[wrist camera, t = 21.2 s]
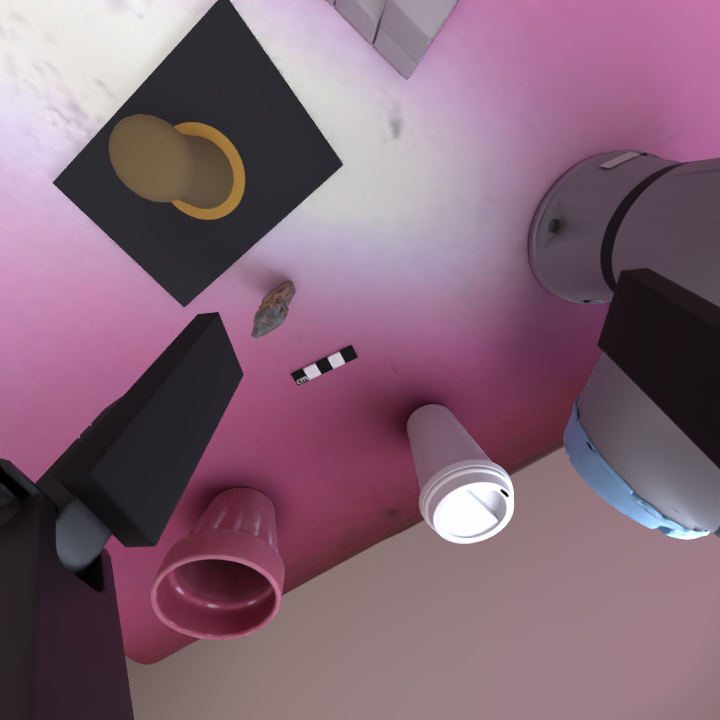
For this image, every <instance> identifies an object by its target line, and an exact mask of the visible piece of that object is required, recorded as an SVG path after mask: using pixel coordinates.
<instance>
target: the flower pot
mask: <svg viewBox="0 0 720 720" xmlns="http://www.w3.org/2000/svg"><path fill="white" fill-rule="evenodd" d="M284 575H285V569H284V563H283V560H282V558H281V556H280V555H279V553H278V546H277V532H276V520H275V509H274V505H273V503H272V502H271V500H270V499H269V498H268V497H267V496H266V495H265V494H263V493H262V492H260V491H257V490H255V489H251V488H245V487H239V488H232V489H228V490H225V491H223V492H222V493H220V494H219V495H217V496H216V497H215V498H214V499H213V501H212V502H211V504H210V505H209V506H208V508H207V509H206V510H205V512H204V513H203V514H202V516H201V517H200V518H199V520H198V521H197V523H196V524H195V525H194V527H193V528H192V529H191V531H190V532H189V534H188V535H187V536H186V537H184V538H183V539H181V540H180V541H178V542H177V543H176V544H175V545H174V546H173V547H172V548H171V549H170V551H169V552H168V553H167V555H166V557H165V559H164V561H163V563H162V565H161V567H160V569H159V571H158V573H157V576H156V578H155V580H154V583H153V586H152V589H151V595H150V598H151V605H152V607H153V610H154V612H155V613H156V615H157V616H158V617H159V619H160V620H161V621H162V622H164V623H165V624H166V625H167V626H169V627H171V628H172V629H174V630H176V631H178V632H180V633H183V634H186V635H189V636H192V637H197V638H202V639H211V640H224V639H233V638H239V637H243V636H246V635H249V634H251V633H254V632H256V631H258V630H259V629H261V628H263V627H264V626H265V625H267V624H268V623H269V622H270V621H271V620H272V619H273V618H274V616H275V615H276V613H277V611H278V609H279V606H280V602H281V597H282V591H283V584H284Z"/></svg>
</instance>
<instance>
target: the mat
mask: <svg viewBox="0 0 720 720" xmlns="http://www.w3.org/2000/svg"><path fill="white" fill-rule="evenodd" d="M136 114H143V115H153V116H155V117H157V118H160V119H162V120H164V121H166V122H168V123H170V124H171V125H172V126H173V127H175V128H176V129H177V130H178V131H179V132H181V133H182V134H186V135H193V136H200V137H204V138H206V139H208V140H210V141H213V142H214V143H215V144H216V145H217V146H219V147H220V148H221V149H222V150H223V152H224V153H225V154H226V156H227V157H228V159H229V161H230V164H231V167H232V169H233V177H234V184H233V188H232V192H231V194H230V195H229V197H228V199H227V200H226V201H225V202H224V203H223V204H221V205H220V206H218V207H215V208H211V209H200V208H196V207H194V206H191V205H189V204H186V203H184V202H182V201H179V200H175V201H172V202H154V201H151V200H148V199H146V198H143V197H141V196H139V195H137V194H136V193H135V192H133V191H132V190H131V189H129V188H128V187H127V186H126V185H125V184H124V183H123V182H122V180H121V179H120V178H119V177H118V176H117V174H116V172H115V170H114V167H113V165H112V163H111V159H110V154H109V141H110V135H111V133H112V131H113V129H114V127H115V125H116V124H118V123H119V122H120V121H121V120H122V119H124V118H126V117H129V116H133V115H136ZM341 166H343V163H342V162H341V161H340V159H339V158H338V156H337V155H336V153H335V152H334V150H333V149H332V148H331V146H330V145H329V143H328V142H327V140H326V139H325V137H324V136H323V135H322V133H321V132H320V130H319V129H318V127H317V126H316V125H315V123H314V122H313V120H312V119H311V117H310V116H309V114H308V113H307V112H306V110H305V109H304V107H303V106H302V104H301V103H300V102H299V100H298V99H297V97H296V96H295V94H294V93H293V91H292V90H291V89H290V87H289V86H288V84H287V83H286V81H285V80H284V78H283V77H282V76H281V74H280V73H279V71H278V70H277V68H276V67H275V66H274V64H273V63H272V61H271V60H270V58H269V57H268V55H267V54H266V53H265V51H264V50H263V48H262V47H261V45H260V44H259V42H258V41H257V40H256V38H255V37H254V35H253V34H252V32H251V31H250V30H249V28H248V27H247V25H246V24H245V22H244V21H243V19H242V18H241V17H240V15H239V14H238V12H237V11H236V9H235V8H234V6H233V5H232V4H231V2H230V1H229V0H218V1H217V2H216V3H215V4H214V5H213V6H212V7H211V9H210V10H209V11H208V12H207V13H206V14H205V15H204V16H203V17H202V18H201V20H200V21H199V22H198V23H197V24H196V25H195V26H194V27H193V28H192V29H191V31H190V32H189V33H188V34H187V35H186V36H185V37H184V38H183V39H182V41H181V42H180V43H179V44H178V45H177V46H176V47H175V48H174V49H173V50H172V52H171V53H170V54H169V55H168V56H167V57H166V58H165V59H164V60H163V62H162V63H161V64H160V65H159V66H158V67H157V68H156V69H155V70H154V71H153V73H152V74H151V75H150V76H149V77H148V78H147V79H146V80H145V81H144V82H143V84H142V85H141V86H140V87H139V88H138V89H137V90H136V91H135V92H134V94H133V95H132V96H131V97H130V98H129V99H128V100H127V101H126V102H125V103H124V105H123V106H122V107H121V108H120V109H119V110H118V111H117V112H116V113H115V115H114V116H113V117H112V118H111V119H110V120H109V121H108V122H107V123H106V124H105V126H104V127H103V128H102V129H101V130H100V131H99V132H98V133H97V134H96V135H95V137H94V138H93V139H92V140H91V141H90V142H89V143H88V144H87V145H86V147H85V148H84V149H83V150H82V151H81V152H80V153H79V154H78V155H77V156H76V158H75V159H74V160H73V161H72V162H71V163H70V164H69V165H68V166H67V168H66V169H65V170H64V171H63V172H62V173H61V174H60V175H59V176H58V177H57V179H56V180H55V181H54V182H53V184H54V185H55V186H56V187H57V188H59V189H60V190H61V191H62V192H63V193H64V194H65V195H66V196H67V197H68V198H69V199H70V200H71V201H72V202H73V203H74V204H75V205H77V206H78V207H79V208H80V209H81V210H82V211H83V212H84V213H85V214H86V215H87V216H88V217H89V218H90V219H91V220H92V221H93V222H94V223H96V224H97V225H98V226H99V227H100V228H101V229H102V230H103V231H104V232H105V233H106V234H107V235H108V236H109V237H110V238H111V239H112V240H114V241H115V242H116V243H117V244H118V245H119V246H120V247H121V248H122V249H123V250H124V251H125V252H126V253H127V254H128V255H129V256H130V257H131V258H133V259H134V260H135V261H136V262H137V263H138V264H139V265H140V266H141V267H142V268H143V269H144V270H145V271H146V272H147V273H148V274H149V275H151V276H152V277H153V278H154V279H155V280H156V281H157V282H158V283H159V284H160V285H161V286H162V287H163V288H164V289H165V290H166V291H167V292H168V293H170V294H171V295H172V296H173V297H174V298H175V299H176V300H177V301H178V302H179V303H180V304H181V305H182V306H183V307H185V306H186V305H187V304H189V303H190V302H191V301H192V300H193V299H194V298H195V297H196V296H197V295H199V294H200V293H201V292H202V291H203V290H204V289H205V288H206V287H208V286H209V285H210V284H211V283H212V282H213V281H214V280H215V279H216V278H218V277H219V276H220V275H221V274H222V273H223V272H224V271H225V270H226V269H228V268H229V267H230V266H231V265H232V264H233V263H234V262H235V261H237V260H238V259H239V258H240V257H241V256H242V255H243V254H244V253H245V252H247V251H248V250H249V249H250V248H251V247H252V246H253V245H254V244H255V243H257V242H258V241H259V240H260V239H261V238H262V237H263V236H264V235H266V234H267V233H268V232H269V231H270V230H271V229H272V228H273V227H274V226H276V225H277V224H278V223H279V222H280V221H281V220H282V219H283V218H285V217H286V216H287V215H288V214H289V213H290V212H291V211H292V210H293V209H295V208H296V207H297V206H298V205H299V204H300V203H301V202H302V201H303V200H305V199H306V198H307V197H308V196H309V195H310V194H311V193H312V192H314V191H315V190H316V189H317V188H318V187H319V186H320V185H321V184H322V183H324V182H325V181H326V180H327V179H328V178H329V177H330V176H331V175H332V174H334V173H335V172H336V171H337V170H338V169H339V168H340V167H341Z"/></svg>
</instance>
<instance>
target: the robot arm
mask: <svg viewBox="0 0 720 720" xmlns="http://www.w3.org/2000/svg"><path fill="white" fill-rule="evenodd" d="M528 249H529V260H530V264H531V268H532V271H533V273H534V275H535V277H536V279H537V280H538V282H539V283H540V284H541V286H542V287H543V288H544V289H546V290H547V291H548V292H549V293H551V294H553V295H554V296H557V297H559V298H562V299H564V300H567V301H570V302H574V303H580V304H599V303H605V302H608V303H611V304H610V307H609V310H608V313H607V316H606V320H605V323H604V326H603V329H602V332H601V335H600V339H599V342H598V346H599V347H600V348H601V349H602V350H603V351H602V353H601V355H600V357H599V359H598V361H597V363H596V365H595V367H594V369H593V371H592V373H591V375H590V377H589V379H588V381H587V383H586V385H585V387H584V389H583V391H582V393H581V395H578V396H577V398H576V399H575V402H574V404H573V412H572V414H571V417H570V419H569V421H568V424H567V426H566V429H565V431H564V437H563V441H564V447H565V450H566V452H567V454H568V456H569V459H570V462H571V463H572V465H573V466H574V468H575V469H576V471H577V472H578V473H579V475H580V476H581V477H582V478H583V479H584V480H585V482H586V483H587V484H588V485H589V486H590V487H591V488H592V489H593V490H594V491H595V492H597V493H598V494H599V495H600V496H601V497H602V498H603V499H605V500H606V501H607V502H609V503H610V504H611V505H612V506H614V507H615V508H616V509H618V510H619V511H621V512H622V513H624V514H625V515H627V516H628V517H630V518H631V519H633V520H635V521H637V522H638V523H640V524H642V525H644V526H646V527H648V528H651V529H654V528H658V529H659V530H660V531H661V532H662V533H663V534H665V535H668V536H671V537H675V538H679V539H694V538H698V537H700V536H706V535H708V534H709V533H710V532H712V533H713V534H715V535H717V536H718V537H720V158H714V159H707V160H700V161H693V162H685V163H681V162H677V161H672V160H664V159H661V158H660V157H658V156H656V155H653V154H650V153H647V152H642V151H633V150H621V151H614V152H609V153H604V154H600V155H596V156H594V157H591V158H588V159H586V160H584V161H582V162H580V163H579V164H577V165H575V166H574V167H573V168H571V169H570V170H568V171H567V172H566V173H565V174H564V175H562V176H561V177H560V178H559V179H558V180H557V181H556V183H555V184H554V185H553V186H552V187H551V188H550V190H549V191H548V192H547V194H546V195H545V197H544V198H543V200H542V202H541V204H540V205H539V207H538V209H537V212H536V214H535V216H534V219H533V222H532V226H531V230H530V235H529V245H528ZM243 375H244V374H243V372H242V369H241V367H240V364H239V362H238V359H237V357H236V354H235V352H234V349H233V347H232V344H231V342H230V340H229V337H228V335H227V332H226V330H225V327H224V325H223V322H222V320H221V317H220V315H219V312H214V313H205V314H197V316H196V317H195V318H194V319H193V320H192V321H191V322H190V323H189V324H188V325H187V327H186V328H185V329H184V330H183V331H182V332H181V333H180V334H179V335H178V336H177V338H176V339H175V340H174V341H173V342H172V343H171V344H170V345H169V346H168V347H167V349H166V350H165V351H164V352H163V353H162V354H161V355H160V356H159V357H158V358H157V360H156V361H155V362H154V363H153V364H152V365H151V366H150V367H149V368H148V369H147V371H146V372H145V373H144V374H143V375H142V376H141V377H140V378H139V379H138V380H137V382H136V383H135V384H134V385H133V386H132V387H131V388H130V389H129V390H128V391H127V393H126V394H125V395H124V396H122V397H121V398H119V399H118V400H117V401H115V402H114V403H112V404H111V405H109V406H108V407H107V408H105V409H104V410H103V411H102V412H101V413H100V415H99V416H98V417H97V418H96V419H95V420H94V421H93V422H92V423H91V424H92V426H88V427H87V429H86V430H85V431H84V432H83V433H82V434H81V435H80V438H78V439H76V440H75V441H74V442H73V444H72V445H71V446H70V447H69V448H68V449H67V450H66V451H65V452H64V453H63V454H62V455H61V456H60V457H59V459H58V460H57V461H56V462H55V463H54V464H53V465H52V466H51V467H50V468H49V469H48V470H47V471H46V472H45V474H44V475H43V476H42V477H41V478H40V479H39V480H38V481H37V482H36V483H35V484H34V483H33V482H32V481H31V480H30V479H29V478H28V477H27V476H26V475H25V474H24V473H22V472H21V471H20V470H19V469H18V468H17V467H16V466H15V465H14V464H13V463H12V462H11V461H8V460H5V459H0V720H134V716H133V709H132V702H131V696H130V688H129V681H128V674H127V668H126V660H125V653H124V647H123V640H122V633H121V626H120V619H119V612H118V605H117V598H116V591H115V584H114V577H113V570H112V563H111V557H110V555H109V553H108V551H107V550H106V549H105V548H104V546H105V544H106V543H107V541H108V540H109V538H110V536H111V535H112V534H113V535H114V536H115V537H116V538H117V539H118V540H119V541H120V542H121V543H122V544H123V545H124V546H125V547H146V546H156V544H157V542H158V540H159V539H160V537H161V535H162V533H163V531H164V529H165V527H166V525H167V523H168V521H169V519H170V517H171V515H172V513H173V511H174V509H175V507H176V505H177V503H178V502H179V500H180V498H181V496H182V494H183V492H184V490H185V488H186V486H187V484H188V482H189V480H190V478H191V476H192V474H193V472H194V470H195V468H196V466H197V465H198V463H199V461H200V459H201V457H202V455H203V453H204V451H205V449H206V447H207V445H208V443H209V441H210V439H211V437H212V435H213V433H214V431H215V429H216V428H217V426H218V424H219V422H220V420H221V418H222V416H223V414H224V412H225V410H226V408H227V406H228V404H229V402H230V400H231V398H232V396H233V394H234V392H235V391H236V389H237V387H238V385H239V383H240V381H241V379H242V377H243Z"/></svg>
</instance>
